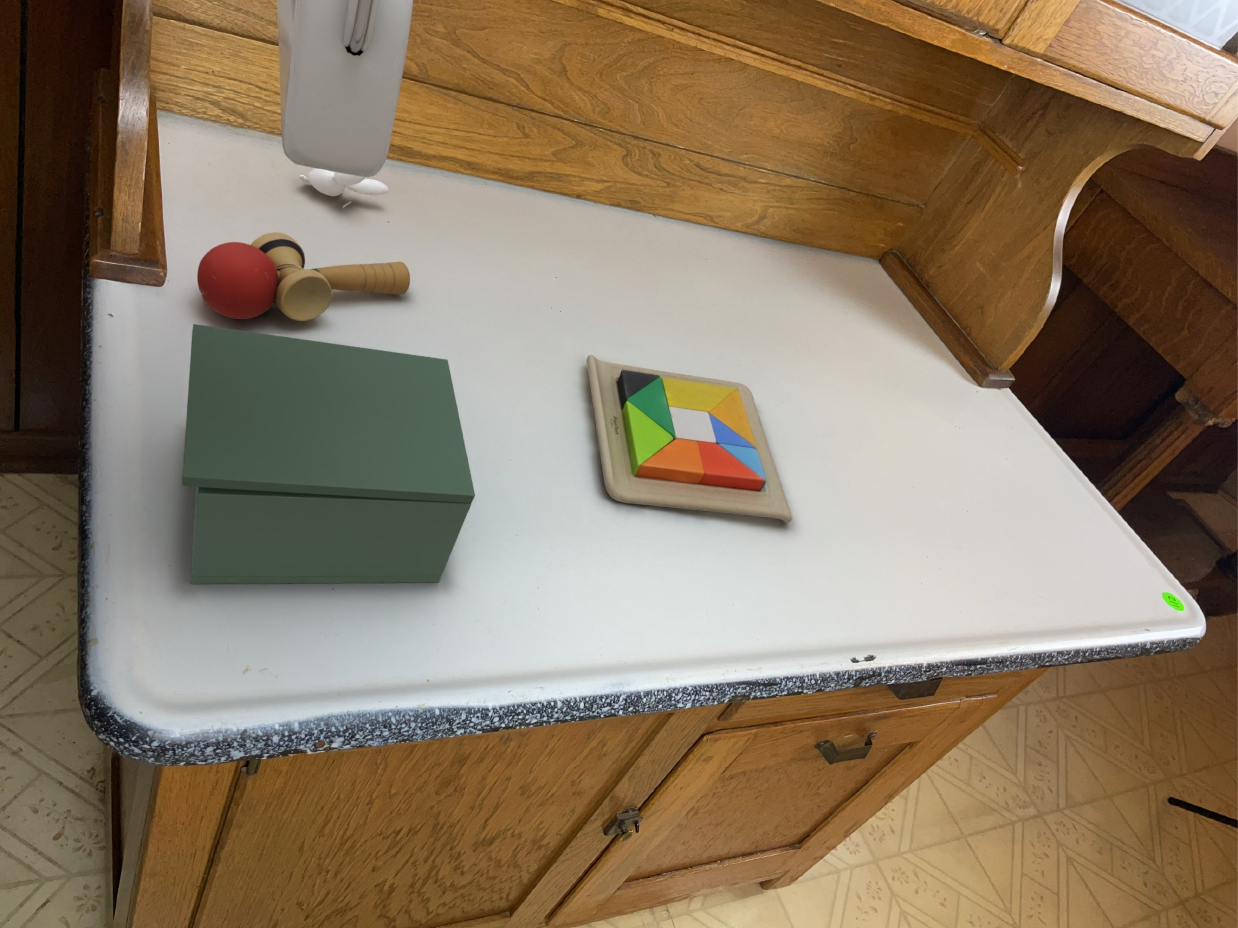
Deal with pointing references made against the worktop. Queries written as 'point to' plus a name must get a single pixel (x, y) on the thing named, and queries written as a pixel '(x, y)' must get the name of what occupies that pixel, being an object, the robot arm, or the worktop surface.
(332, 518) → the chest
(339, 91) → the robot arm
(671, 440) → the wooden puzzle
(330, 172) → the rabbit figurine
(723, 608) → the worktop surface
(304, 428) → the chest lid
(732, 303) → the worktop surface
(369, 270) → the kendama
